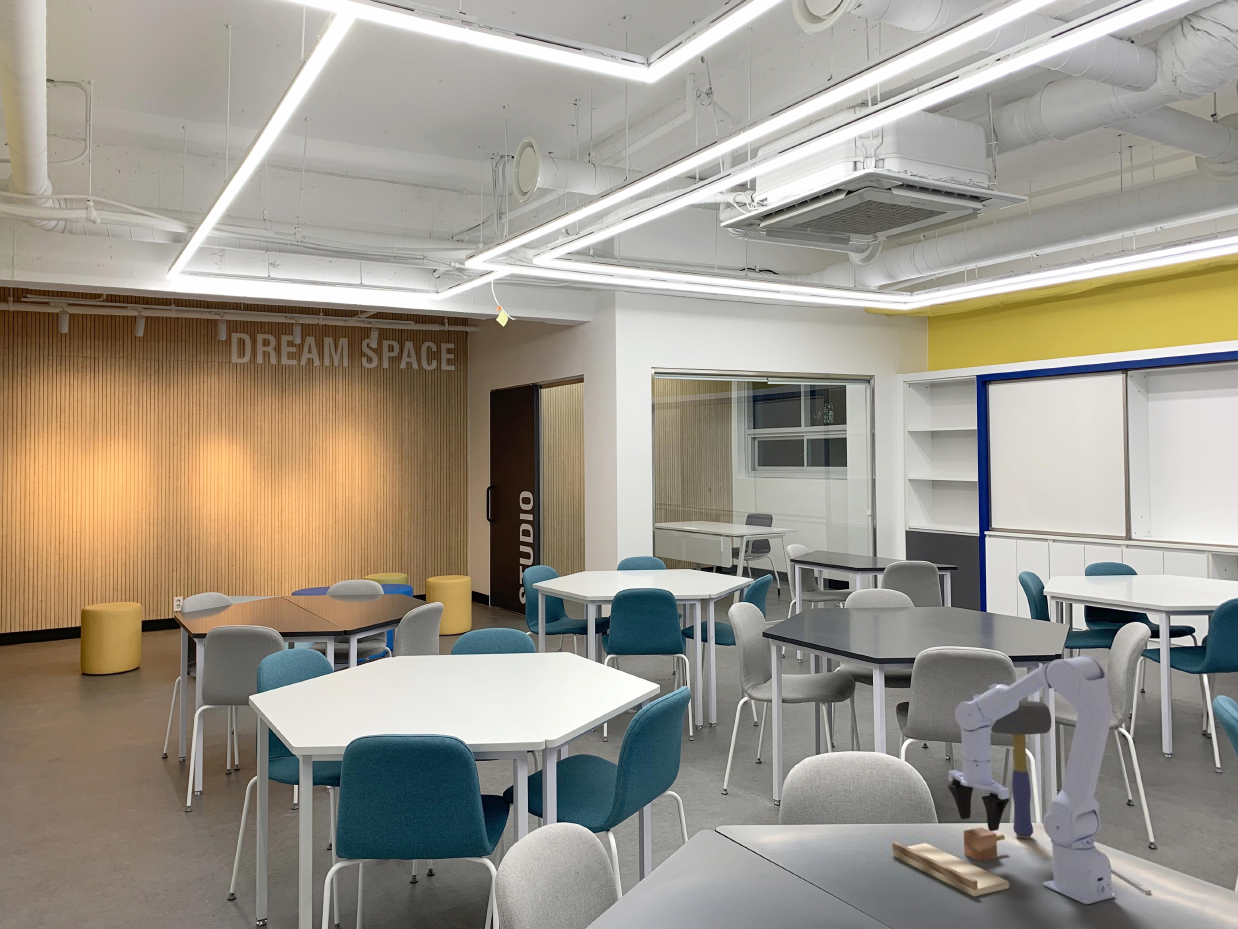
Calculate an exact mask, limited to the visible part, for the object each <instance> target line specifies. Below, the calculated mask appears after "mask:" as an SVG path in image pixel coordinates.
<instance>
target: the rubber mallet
mask: <svg viewBox="0 0 1238 929" xmlns="http://www.w3.org/2000/svg"><path fill="white" fill-rule="evenodd" d="M1051 728H1052V715H1051V711H1050V709H1049V706H1048V705H1047V704H1046V703H1045V702H1043V701H1036V700H1035V701H1033V700H1022V699H1021V700H1019V706H1018V708H1017V710H1015V711H1013V712H1011V713H1009V714H1007V715H1006V716H1004V717H1002V718H1000V719H998V720H996V721H995V723H994V724H993V726H992V728H991V732H992V733H994V734H1005V735H1012V736H1013V738H1012V739H1013V744H1012V745H1013V766H1014V767H1013V772H1012V779H1011V780H1012V782H1011V786H1012V787H1011V791H1012V792H1011V793H1012V799H1013V804H1014V805H1013V806H1014V808H1013V809H1014V821H1013V831H1014V833H1015V835H1016V837H1018V838H1019V839H1030V838H1031V837H1032V835H1033V833H1034V827H1033V824H1032V820H1031V816H1032V815H1031V799H1032V798H1031V797H1032V796H1031V795H1032V790H1031V780H1030V775H1029V771H1028V768H1027V767H1028V766H1027V751H1026V750H1027V749H1026V735H1040V734H1041V735H1042V734H1048V733H1049V731H1051Z"/></svg>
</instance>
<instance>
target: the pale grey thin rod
mask: <svg viewBox="0 0 1238 929" xmlns="http://www.w3.org/2000/svg"><path fill="white" fill-rule="evenodd" d="M1110 866H1111V874H1113V875H1114V874H1115V875H1114V876H1116V877H1117V876H1118V877H1117V878H1119V877H1120V878H1119V879H1121V880H1122V879H1123V880H1122V881H1124V882H1125V881H1126V882H1125V883H1127V884H1128V885H1130V886H1131V887H1133V888H1135V889H1136V888H1137V890H1138V889H1139V890H1138V891H1139V892H1141V893H1143V894H1144V893H1145V894H1144V895H1152V890H1151V889H1149V887H1148V888H1147V887H1146V886H1145V885H1143V884H1142V883H1140V882H1138V881H1136V880H1135V879H1133V878H1132V877H1130V876H1128V875H1126V874H1125V873H1124V872H1122V871H1120V870H1118V869H1117V868H1116V867H1114V866H1113V865H1111V864H1110Z"/></svg>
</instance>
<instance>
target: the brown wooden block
mask: <svg viewBox="0 0 1238 929" xmlns="http://www.w3.org/2000/svg"><path fill="white" fill-rule="evenodd" d="M1005 838H1006V837H1005V835H1004V834H998V835H997V833H996V832H995V831H990V830H989V829H988V828H987V829H986V828H984V827H982V826H981V827H976V828H972V829H971V828H970V829H966V830H963V845H964V846H963V848H964V849H963V851H964V856H967V857H968V858H971V859H973V860H975V861H977V862H983V861H988V860H992V859H993V860H994V859H996V858H997V859H998V848H997V847H998V843H997V841H1004V840H1005Z"/></svg>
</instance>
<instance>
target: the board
mask: <svg viewBox="0 0 1238 929" xmlns="http://www.w3.org/2000/svg"><path fill="white" fill-rule="evenodd" d="M892 856H893V857H895V858H897V859H898V860H901V861H903V862H905V863H906V864H909V865H910V866H913V867H914V868H916V869H919V870H920V871H923V872H925V873H926V874H928V875H930V876H933V877H935V878H937V879H938V880H941V882H944V883H946V884H949V885H950V886H953V887H954V888H956V889H958V890H960V891H962V892H964V893H966V894H968V895H970V896H972V897H977V896H982V895H986V894H990V893H994V892H999V891H1002V890H1006V889H1007V890H1008V889H1009V888H1010V882H1009V880H1006V879H1005V878H1002V877H1000V876H998V875H995V874H993V873H991V872H989V871H987V870H985V869H983V868H982V867H978V866H976V865H974V864H972V863H970V862H967V861H966V860H963V859H962V858H959V857H957V856H954V855H952V854H950V853H948V852H946V851H944V850H942V849H940V848H937V847H935V846H933V845H931V844H929V843H926V842H923V843H919V844H914V845H909V846H906V845H904V844H901V843H900V842H897V841H892Z"/></svg>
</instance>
